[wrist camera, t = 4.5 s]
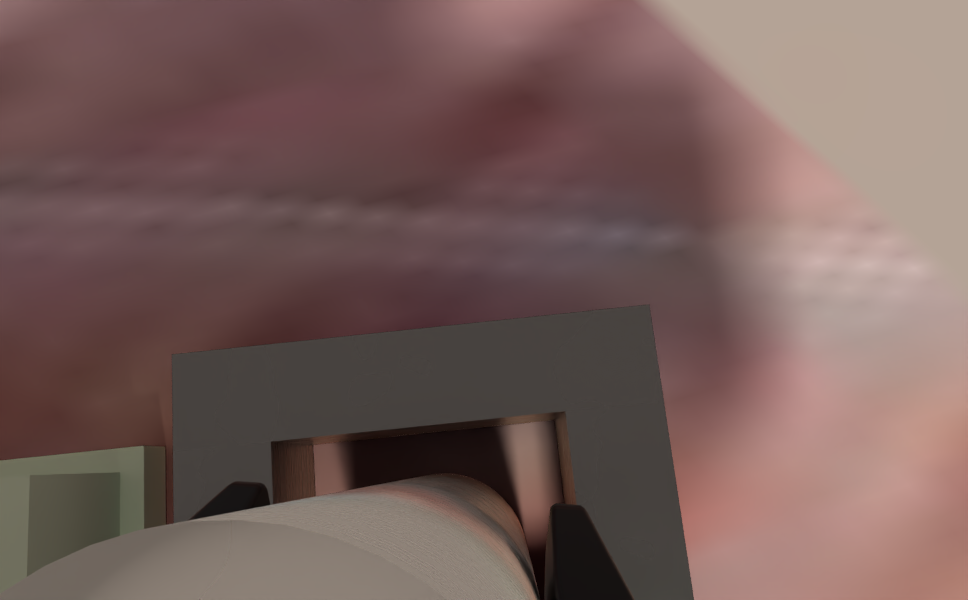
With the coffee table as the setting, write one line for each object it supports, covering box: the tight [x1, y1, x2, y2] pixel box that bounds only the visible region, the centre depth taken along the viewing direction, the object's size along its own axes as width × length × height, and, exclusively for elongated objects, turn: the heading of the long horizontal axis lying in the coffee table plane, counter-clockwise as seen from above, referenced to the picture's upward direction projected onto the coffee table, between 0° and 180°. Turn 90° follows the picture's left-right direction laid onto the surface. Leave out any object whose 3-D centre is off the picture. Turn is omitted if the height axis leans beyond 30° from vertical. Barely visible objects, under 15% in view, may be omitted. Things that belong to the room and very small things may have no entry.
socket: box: [172, 305, 694, 600], centre depth 14 cm, size 9×9×3 cm
